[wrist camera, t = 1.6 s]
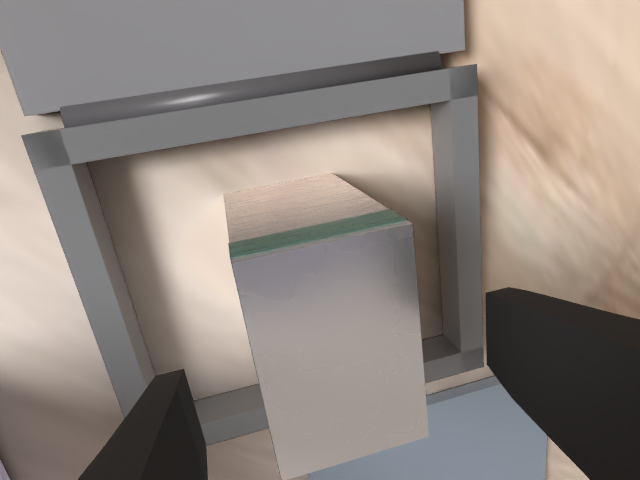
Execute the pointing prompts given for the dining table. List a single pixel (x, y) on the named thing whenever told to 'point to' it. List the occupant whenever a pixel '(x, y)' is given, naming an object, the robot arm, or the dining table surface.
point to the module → (329, 319)
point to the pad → (460, 442)
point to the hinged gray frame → (238, 132)
